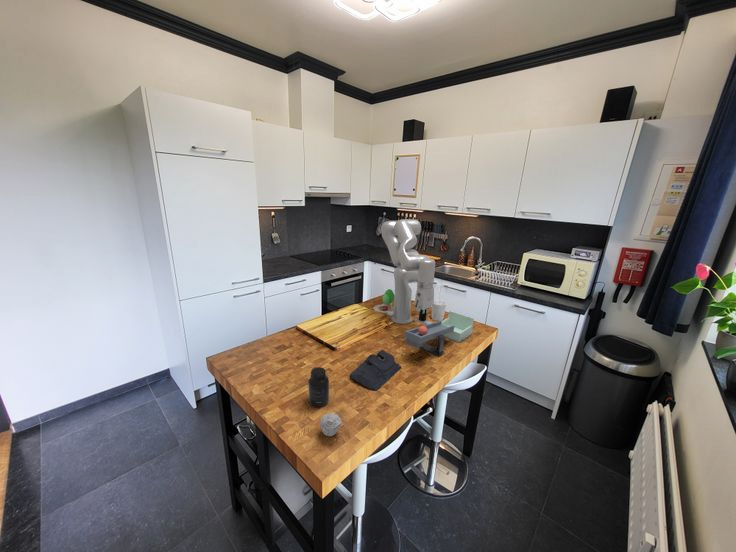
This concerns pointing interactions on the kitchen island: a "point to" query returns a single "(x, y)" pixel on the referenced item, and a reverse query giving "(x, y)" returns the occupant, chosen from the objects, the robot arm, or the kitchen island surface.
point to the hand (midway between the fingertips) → (422, 320)
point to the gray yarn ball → (330, 424)
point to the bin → (458, 326)
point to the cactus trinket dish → (386, 301)
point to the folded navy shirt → (376, 370)
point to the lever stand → (433, 350)
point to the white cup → (438, 310)
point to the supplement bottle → (318, 387)
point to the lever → (433, 332)
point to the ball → (422, 330)
